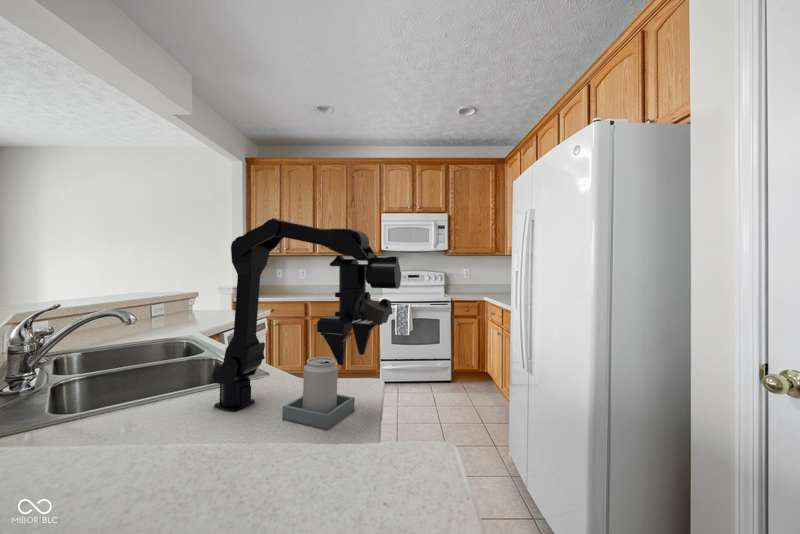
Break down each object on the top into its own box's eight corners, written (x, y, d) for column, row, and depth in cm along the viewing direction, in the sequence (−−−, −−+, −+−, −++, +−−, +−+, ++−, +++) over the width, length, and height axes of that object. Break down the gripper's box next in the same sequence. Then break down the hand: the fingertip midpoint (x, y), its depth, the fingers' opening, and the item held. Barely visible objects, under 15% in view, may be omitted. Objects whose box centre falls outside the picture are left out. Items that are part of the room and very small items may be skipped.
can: (328, 421, 78) (329, 365, 78) (296, 417, 80) (297, 362, 80) (341, 408, 86) (342, 357, 86) (311, 404, 87) (313, 354, 87)
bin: (282, 420, 80) (282, 406, 80) (313, 401, 90) (313, 389, 90) (327, 430, 75) (327, 416, 75) (354, 410, 86) (354, 397, 86)
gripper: (366, 292, 68) (365, 376, 68) (402, 286, 85) (402, 353, 86) (315, 289, 72) (314, 369, 72) (360, 284, 90) (359, 349, 90)
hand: (351, 359), depth 80 cm, fingers open, 9 cm apart
